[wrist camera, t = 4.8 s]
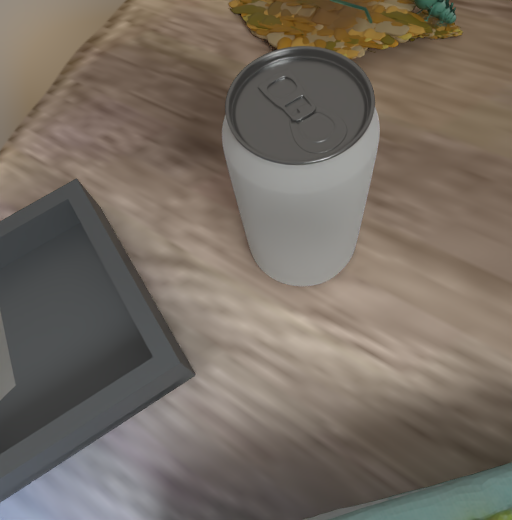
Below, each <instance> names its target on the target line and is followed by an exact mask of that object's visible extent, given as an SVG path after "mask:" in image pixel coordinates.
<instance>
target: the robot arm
mask: <svg viewBox="0 0 512 520" xmlns="http://www.w3.org/2000/svg"><path fill="white" fill-rule="evenodd" d="M15 386H16V384H15V379H14V375H13V370H12V365H11V360H10V355H9V350H8V346H7V341H6V336H5V331H4V326H3V321H2V317H1V312H0V400H1V399H2V398H3V397H4V396H5V395H6V394H7V393H8V392H9V391H10V390H11V389H13V388H14V387H15Z"/></svg>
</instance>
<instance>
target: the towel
mask: <svg viewBox="0 0 512 520" xmlns="http://www.w3.org/2000/svg"><path fill="white" fill-rule="evenodd" d="M303 520H512V462H511V463H508V464H505V465H502V466H498V467H495V468H492V469H488V470H485V471H481V472H478V473H475V474H472V475H468V476H464V477H460V478H457V479H453V480H449V481H446V482H443V483H440V484H436V485H433V486H430V487H426V488H421V489H417V490H413V491H409V492H405V493H401V494H398V495H393V496H391V497H387V498H384V499H380V500H376V501H372V502H368V503H364V504H360V505H356V506H351V507H346V508H340V509H337V510H334V511H330V512H327V513H323V514H320V515H317V516H315V517H312V518H306V519H303Z"/></svg>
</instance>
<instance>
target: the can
mask: <svg viewBox="0 0 512 520" xmlns="http://www.w3.org/2000/svg"><path fill="white" fill-rule="evenodd" d="M379 133H380V125H379V118H378V114H377V111H376V108H375V97H374V91H373V88H372V85H371V83H370V80H369V79H368V77H367V75H366V74H365V73H364V71H363V70H362V69H361V68H360V67H359V66H358V65H357V64H356V63H355V62H353V61H352V60H350V59H349V58H347V57H346V56H344V55H342V54H340V53H337V52H335V51H332V50H329V49H325V48H320V47H313V46H294V47H287V48H282V49H278V50H275V51H272V52H270V53H267V54H265V55H263V56H261V57H259V58H257V59H256V60H254V61H253V62H251V63H250V64H248V65H247V66H246V67H245V68H244V69H243V70H242V71H241V72H240V73H239V74H238V75H237V77H236V78H235V79H234V81H233V83H232V84H231V86H230V88H229V91H228V94H227V97H226V103H225V118H224V121H223V127H222V143H223V149H224V154H225V159H226V163H227V167H228V170H229V174H230V178H231V182H232V186H233V189H234V193H235V197H236V201H237V204H238V208H239V212H240V215H241V219H242V223H243V226H244V230H245V234H246V237H247V241H248V244H249V248H250V251H251V253H252V256H253V258H254V260H255V262H256V263H257V265H258V266H259V267H260V268H261V269H262V270H263V271H264V272H265V273H266V274H267V275H268V276H270V277H271V278H273V279H275V280H277V281H279V282H281V283H284V284H288V285H292V286H312V285H318V284H321V283H324V282H326V281H328V280H330V279H331V278H333V277H334V276H336V275H337V274H338V273H339V272H340V271H341V270H342V269H343V268H344V267H345V266H346V265H347V264H348V262H349V261H350V259H351V257H352V255H353V253H354V250H355V246H356V243H357V239H358V234H359V230H360V226H361V222H362V217H363V213H364V209H365V204H366V200H367V195H368V191H369V186H370V182H371V177H372V173H373V168H374V164H375V159H376V154H377V149H378V143H379Z"/></svg>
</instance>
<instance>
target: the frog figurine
mask: <svg viewBox="0 0 512 520" xmlns="http://www.w3.org/2000/svg"><path fill="white" fill-rule="evenodd" d="M413 2H415V4H414V3H413ZM448 2H449V0H446V1H445V0H233V1H231V2H230V3H229V6H230V7H231V8H232V9H230V10H232V12H233V13H236V14H239V13H241V16H242V17H243V19H244V20H245V21H246V25H247V26H248V27H249V28H251V33H252V34H253V35H254V36H257V37H258V38H261V39H266V40H268V42H269V44H270V45H272V46H273V47H275V48H277V50H278V49H282V48H287V47H294V46H313V47H320V48H325V49H329V50H332V51H335V52H337V53H340V54H342V55H344V56H346V57H347V58H349V59H355V58H356V57H362V56H364V54H365V51H366V50H367V49H368V47H369V48H376V49H381V50H382V49H386V48H388V47H396V46H397V45H398V42H399V43H405V42H407V41H414V40H415V39H414V38H417V37H421V38H424V37H427V38H430V39H434V38H435V39H438V38H442V39H443V38H447V37H453V36H456V37H458V36H459V35H462V33H463V31H462V30H460V28H461V27H459V26H457V25H455V23H453V22H454V21H455V20H456V15H455V12H454V11H455V9H456V8H454V9H452V6H453V3H451V5H450V6H449V3H448ZM416 6H417V7H418V8H419V9H422V10H421V11H422V13H420V14H419V12H421V11H419V12H418V13H413V12H411V11H412V10H413V9H414V8H415V7H416ZM426 10H427V11H426ZM371 52H372V51H371ZM375 52H376V51H375Z"/></svg>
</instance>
